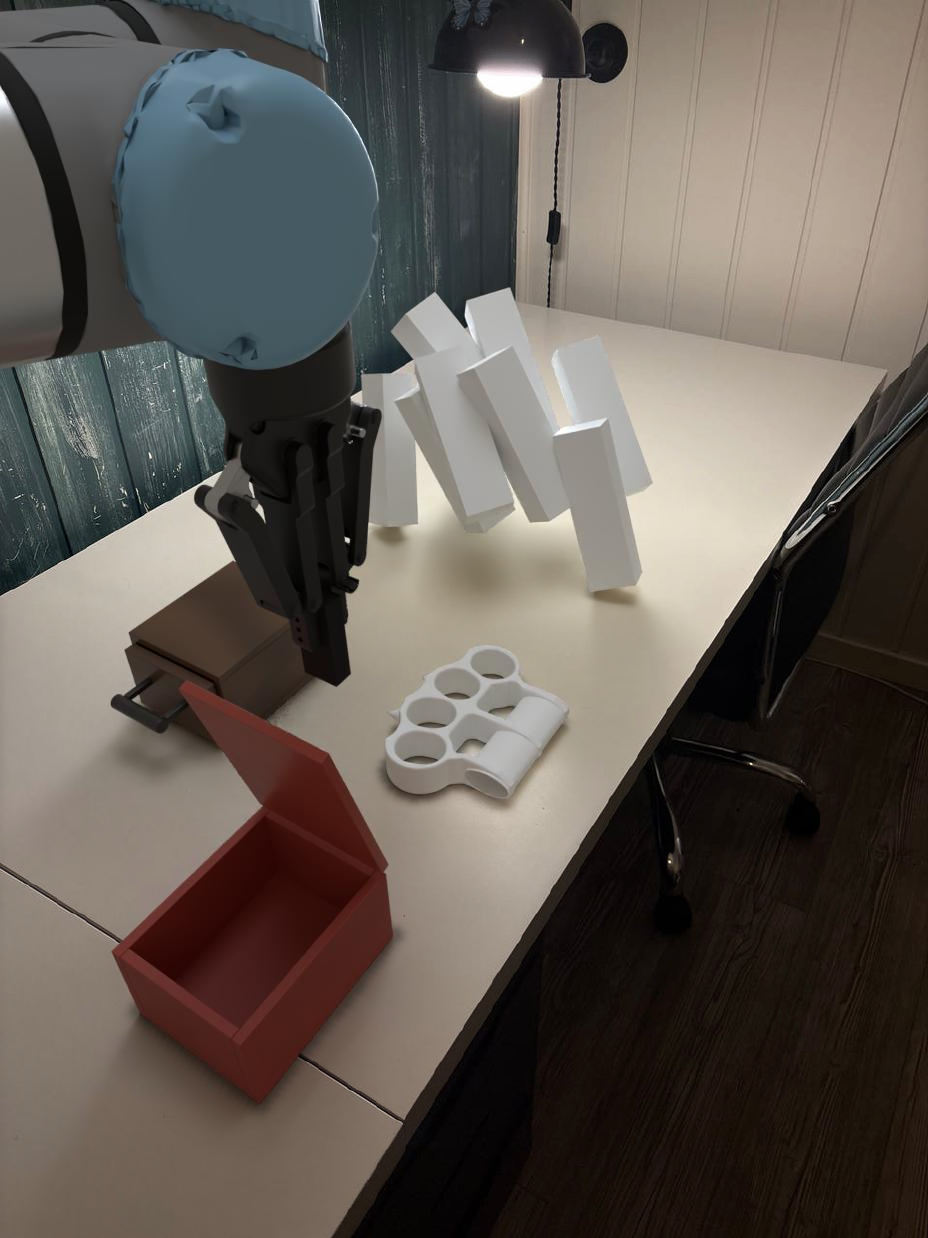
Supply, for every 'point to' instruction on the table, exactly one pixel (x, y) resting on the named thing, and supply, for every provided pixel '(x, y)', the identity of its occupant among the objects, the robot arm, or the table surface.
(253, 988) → the chest
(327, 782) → the lid
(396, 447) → the pile of blocks
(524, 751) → the white brass knuckles
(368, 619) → the table surface
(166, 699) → the drawer
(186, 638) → the cabinet
